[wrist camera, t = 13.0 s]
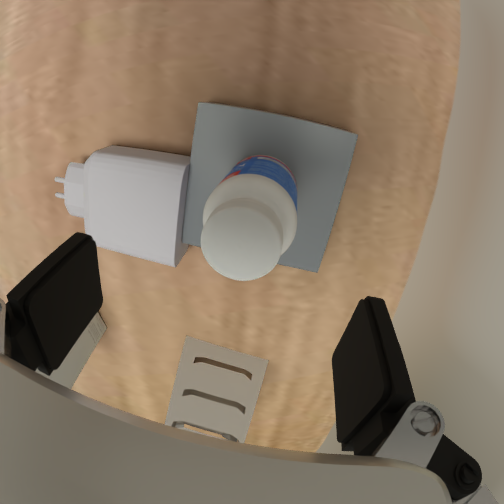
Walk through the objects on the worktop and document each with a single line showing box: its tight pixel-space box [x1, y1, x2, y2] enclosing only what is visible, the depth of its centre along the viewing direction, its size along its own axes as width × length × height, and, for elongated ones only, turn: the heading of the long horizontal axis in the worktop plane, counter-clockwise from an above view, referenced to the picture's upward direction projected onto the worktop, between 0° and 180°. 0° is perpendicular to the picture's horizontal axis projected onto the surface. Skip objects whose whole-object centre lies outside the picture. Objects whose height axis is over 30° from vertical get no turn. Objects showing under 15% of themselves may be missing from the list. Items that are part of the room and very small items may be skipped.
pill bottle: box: [201, 155, 297, 281], centre depth 19 cm, size 6×5×10 cm
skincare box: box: [35, 312, 107, 389], centre depth 30 cm, size 8×6×15 cm
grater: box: [165, 335, 269, 443], centre depth 29 cm, size 10×10×20 cm
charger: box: [55, 145, 191, 267], centre depth 26 cm, size 5×9×15 cm
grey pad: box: [182, 102, 358, 273], centre depth 24 cm, size 12×12×3 cm
